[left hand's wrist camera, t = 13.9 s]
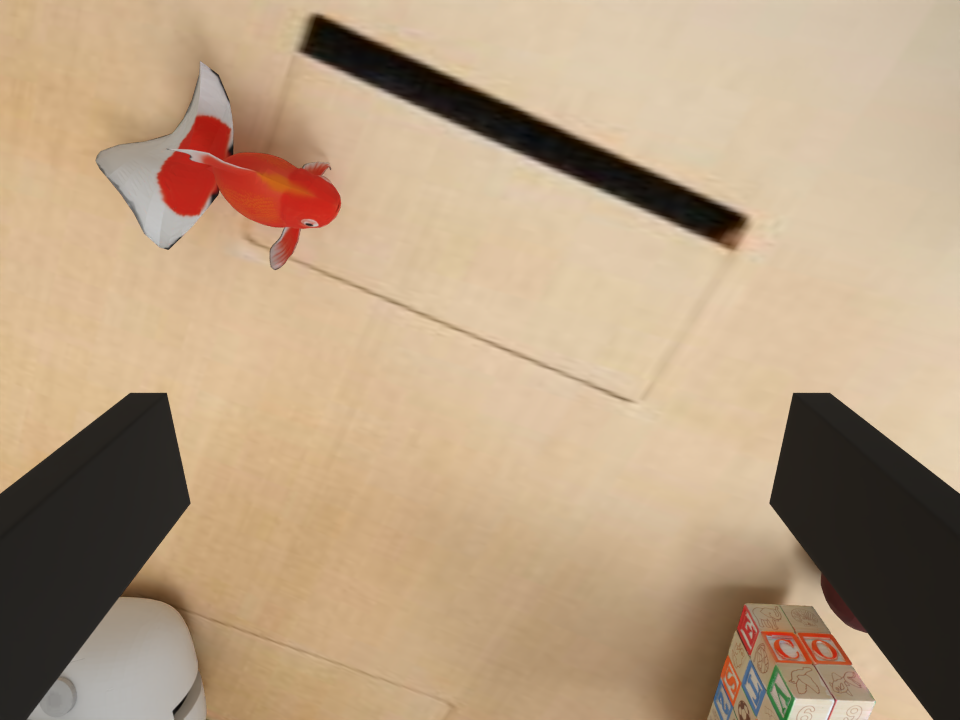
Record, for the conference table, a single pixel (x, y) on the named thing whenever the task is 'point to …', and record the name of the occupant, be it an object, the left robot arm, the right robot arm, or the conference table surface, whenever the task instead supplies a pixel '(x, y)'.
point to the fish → (216, 177)
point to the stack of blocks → (788, 670)
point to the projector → (130, 669)
